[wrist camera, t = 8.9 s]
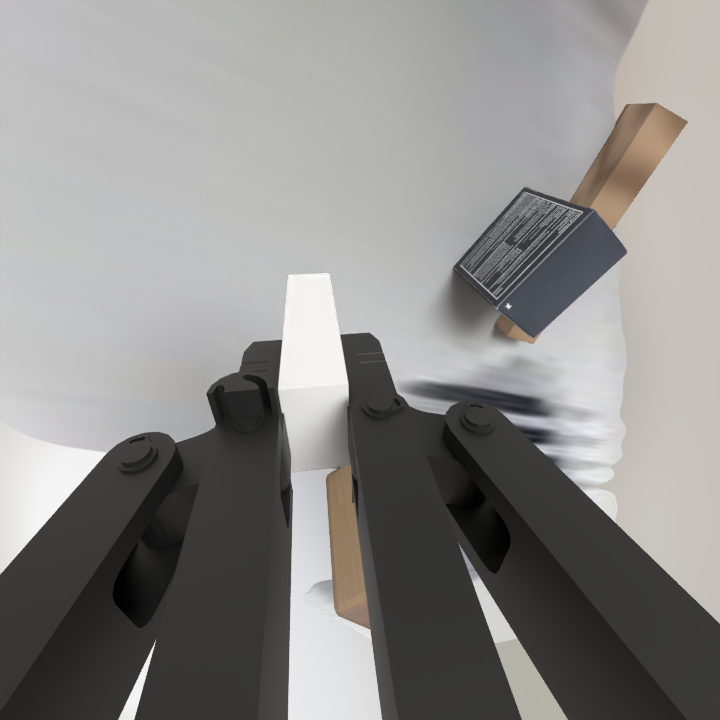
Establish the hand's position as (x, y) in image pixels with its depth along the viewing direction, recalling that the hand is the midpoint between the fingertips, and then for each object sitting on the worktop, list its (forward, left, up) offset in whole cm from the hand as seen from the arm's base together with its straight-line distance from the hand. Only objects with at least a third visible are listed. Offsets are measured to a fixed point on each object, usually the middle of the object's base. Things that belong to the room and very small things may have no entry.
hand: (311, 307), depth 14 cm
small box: (+6, +21, -25) cm, 33 cm away
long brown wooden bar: (+5, +28, -25) cm, 38 cm away
